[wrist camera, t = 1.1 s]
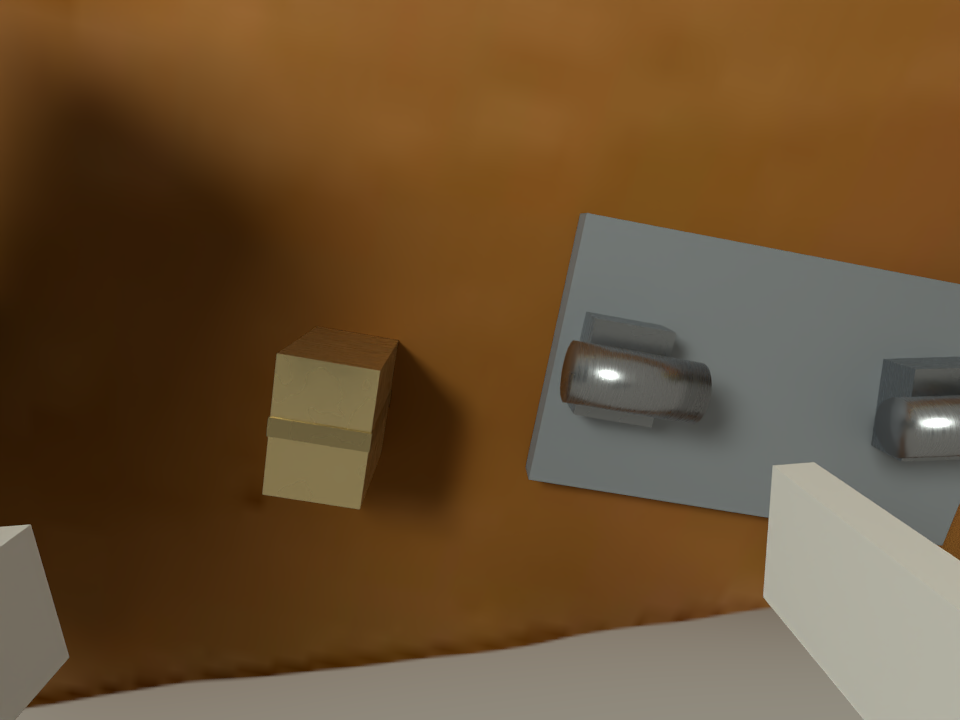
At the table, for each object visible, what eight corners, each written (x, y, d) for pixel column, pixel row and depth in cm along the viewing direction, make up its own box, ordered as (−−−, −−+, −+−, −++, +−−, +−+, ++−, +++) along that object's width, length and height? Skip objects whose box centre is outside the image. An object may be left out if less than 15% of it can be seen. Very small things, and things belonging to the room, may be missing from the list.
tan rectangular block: (382, 452, 29) (360, 510, 23) (302, 439, 29) (260, 495, 23) (399, 340, 28) (381, 371, 22) (316, 325, 28) (274, 353, 22)
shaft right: (840, 446, 28) (912, 488, 23) (852, 360, 27) (929, 386, 22) (972, 441, 28) (1068, 482, 24) (988, 355, 27) (1092, 381, 23)
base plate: (525, 466, 29) (528, 479, 28) (580, 213, 26) (586, 213, 25) (919, 530, 31) (942, 545, 29) (1012, 296, 28) (1043, 300, 26)
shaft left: (546, 397, 27) (562, 431, 23) (566, 307, 26) (586, 324, 22) (657, 416, 27) (694, 453, 23) (680, 328, 26) (724, 349, 22)
